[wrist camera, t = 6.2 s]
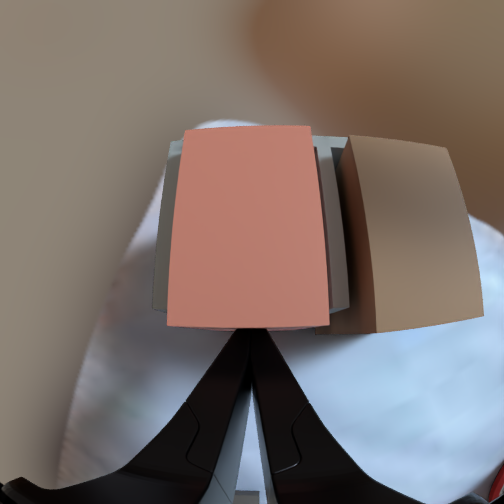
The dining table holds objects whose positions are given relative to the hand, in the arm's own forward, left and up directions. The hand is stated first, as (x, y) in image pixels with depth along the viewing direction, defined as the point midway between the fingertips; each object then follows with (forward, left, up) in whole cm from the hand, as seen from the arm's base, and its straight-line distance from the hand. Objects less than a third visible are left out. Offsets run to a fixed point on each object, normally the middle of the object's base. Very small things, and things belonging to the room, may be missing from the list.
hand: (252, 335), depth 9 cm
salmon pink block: (+3, 0, -7) cm, 8 cm away
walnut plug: (+3, -5, -7) cm, 9 cm away
